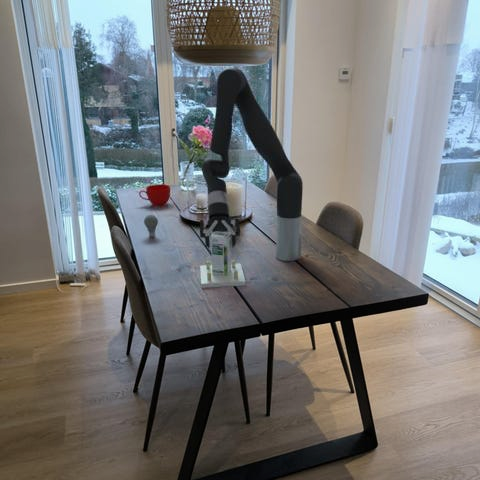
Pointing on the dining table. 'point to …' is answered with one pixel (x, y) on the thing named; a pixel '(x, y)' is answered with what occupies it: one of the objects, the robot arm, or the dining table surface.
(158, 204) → the ceramic cup
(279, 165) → the robot arm
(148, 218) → the light bulb
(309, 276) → the dining table surface
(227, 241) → the syrup box
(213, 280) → the pin plate
